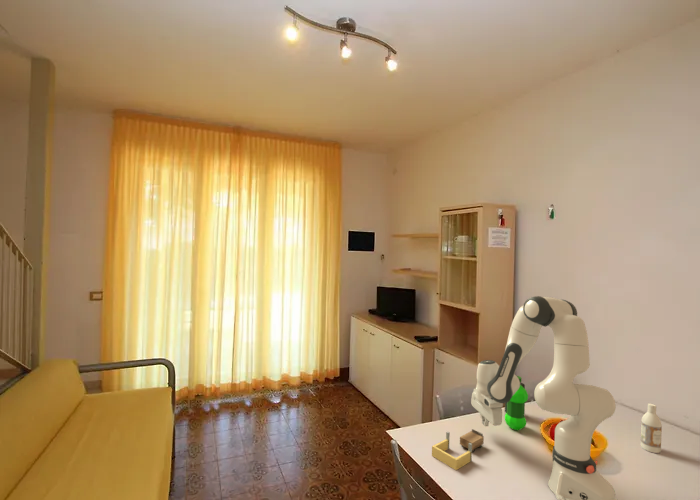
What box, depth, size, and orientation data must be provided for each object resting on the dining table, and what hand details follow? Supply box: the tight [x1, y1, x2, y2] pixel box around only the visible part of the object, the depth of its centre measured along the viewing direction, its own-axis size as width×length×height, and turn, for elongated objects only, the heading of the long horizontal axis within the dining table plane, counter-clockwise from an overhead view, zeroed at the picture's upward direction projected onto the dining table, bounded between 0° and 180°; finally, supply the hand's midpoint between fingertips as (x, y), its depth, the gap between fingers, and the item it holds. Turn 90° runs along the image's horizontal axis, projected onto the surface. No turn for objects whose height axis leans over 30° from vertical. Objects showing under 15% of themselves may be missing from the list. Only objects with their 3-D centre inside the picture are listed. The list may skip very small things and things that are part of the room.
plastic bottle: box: [504, 375, 529, 431], centre depth 174 cm, size 10×10×25 cm
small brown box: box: [459, 429, 485, 453], centre depth 156 cm, size 6×9×5 cm, turn 128°
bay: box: [431, 431, 473, 471], centre depth 147 cm, size 12×11×7 cm
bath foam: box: [640, 402, 663, 454], centre depth 158 cm, size 7×7×20 cm
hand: (484, 424), depth 163 cm, fingers closed
